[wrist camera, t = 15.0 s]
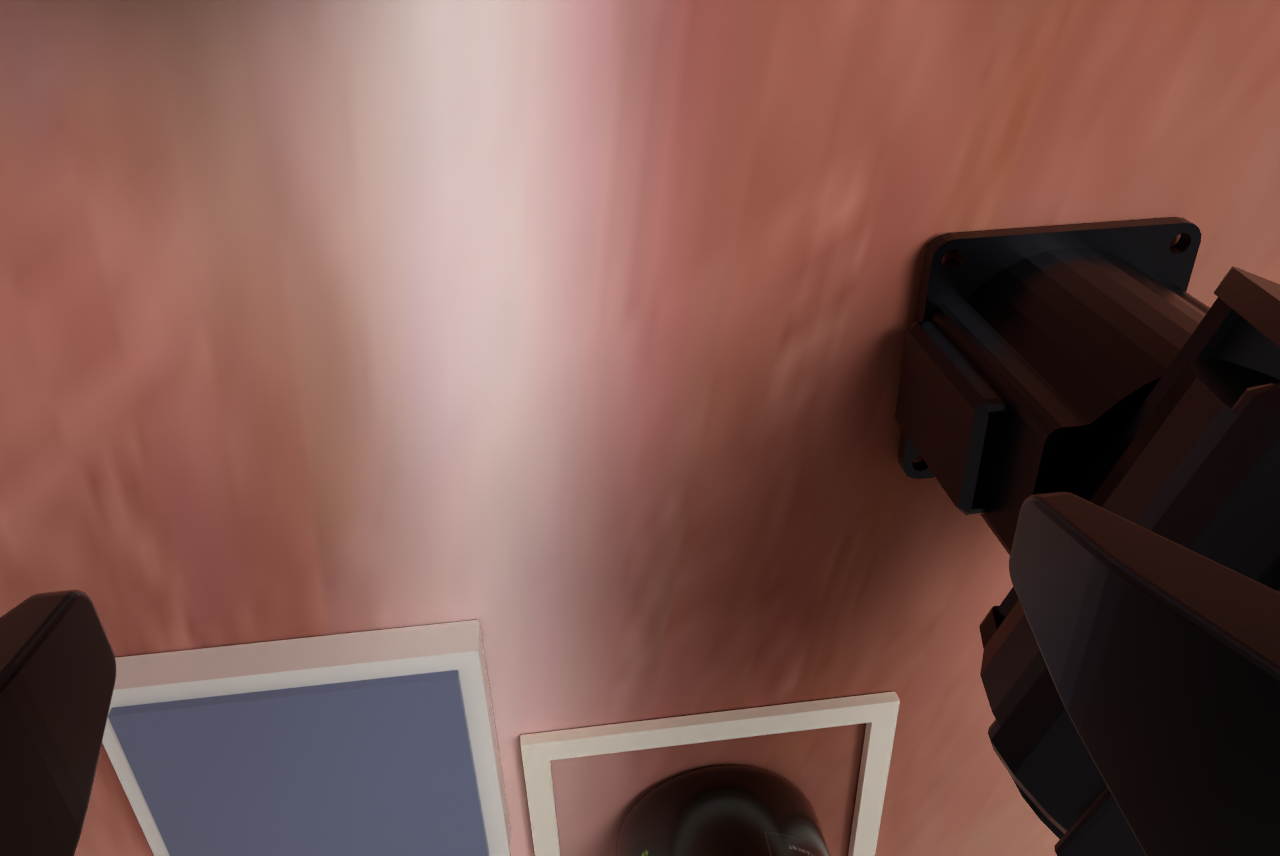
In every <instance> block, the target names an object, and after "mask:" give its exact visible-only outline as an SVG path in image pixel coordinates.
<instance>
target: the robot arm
mask: <svg viewBox="0 0 1280 856" xmlns="http://www.w3.org/2000/svg"><path fill="white" fill-rule="evenodd" d="M1178 234H1181V237H1180V239H1179V241H1178V242H1177V243H1176V244H1175V245H1174V246H1172V247H1170V243H1171V241H1172V239H1173V238H1174V237H1175V236H1177V235H1178ZM1200 242H1201V232H1200V230H1199V228H1198V227H1197V226H1196V225H1194V224H1193V223H1191V222H1189V221H1188V220H1186V219H1184V218H1179V217H1168V218H1154V219H1140V220H1126V221H1112V222H1098V223H1083V224H1069V225H1055V226H1041V227H1027V228H1013V229H999V230H984V231H970V232H956V233H947V234H943V235H940V236H938V237H937V238H935V239H934V240H933V241H932V242H931V243H930V245H929V246H928V247H927V250H926V253H925V257H924V264H923V272H922V279H921V286H920V294H919V301H918V309H917V316H916V321H915V322H914V323H913V324H912V325H911V326H910V327H909V329H908V330H907V331H906V335H905V343H904V351H903V358H902V366H901V374H900V382H899V389H898V397H897V405H896V412H895V418H896V420H897V422H898V423H899V425H900V426H901V435H900V442H899V449H898V462H899V464H900V466H901V467H902V469H903V470H904V472H905V473H906V475H907V476H909V477H911V478H916V479H922V478H933V477H936V478H937V480H938V481H939V483H940V484H941V486H942V487H943V488H944V490H945V491H946V493H947V494H948V496H949V497H950V499H951V500H952V501H953V503H954V504H955V506H956V507H957V508H958V509H960V510H961V511H962V512H963V513H964V514H965V515H975V514H981V516H982V517H983V519H984V520H985V521H986V523H987V524H988V526H989V527H990V528H991V530H992V531H993V533H994V534H995V535H996V537H997V538H998V540H999V541H1000V542H1001V544H1002V545H1003V546H1004V548H1005V549H1006V551H1007V552H1008V553H1009V555H1010V559H1009V571H1010V577H1011V581H1012V584H1013V588H1012V589H1011V591H1010V592H1009V593H1008V595H1007V596H1006V598H1005V599H1004V601H1003V602H1002V603H1001V605H1000V606H994V607H992V609H991V610H990V611H989V613H988V614H987V616H986V617H985V619H984V620H983V621H982V623H981V624H980V632H981V637H982V643H983V648H984V652H983V660H982V667H981V674H980V675H981V678H982V681H983V684H984V687H985V691H986V694H987V697H988V700H989V703H990V706H991V709H992V712H993V714H994V716H995V718H996V720H995V721H994V722H993V723H992V725H991V726H990V727H989V730H988V735H989V738H990V740H991V743H992V746H993V749H994V751H995V752H996V754H997V755H998V757H999V758H1000V760H1001V761H1002V763H1003V764H1004V766H1005V767H1006V769H1007V770H1008V772H1009V773H1010V775H1011V777H1012V779H1013V780H1014V782H1015V784H1016V786H1017V788H1018V789H1019V791H1020V793H1021V795H1022V797H1023V798H1024V799H1025V801H1026V802H1027V803H1028V804H1029V806H1030V807H1031V808H1032V809H1033V811H1034V812H1035V813H1036V815H1037V816H1038V817H1039V818H1040V820H1041V821H1042V822H1043V823H1044V824H1045V825H1046V826H1047V827H1048V828H1049V829H1050V830H1051V831H1052V832H1053V833H1054V834H1055V835H1056V836H1057V837H1058V838H1059V839H1060V840H1059V841H1058V843H1057V844H1056V845H1055V852H1056V854H1057V856H1280V285H1279V284H1277V283H1274V282H1272V281H1269V280H1267V279H1264V278H1261V277H1259V276H1256V275H1254V274H1251V273H1249V272H1246V271H1244V270H1241V269H1239V268H1236V267H1232V268H1231V269H1230V270H1229V272H1228V273H1227V275H1226V276H1225V278H1224V279H1223V280H1222V282H1221V283H1220V285H1219V286H1218V288H1217V289H1216V290H1215V292H1214V294H1215V295H1217V296H1218V298H1217V300H1216V301H1215V302H1214V304H1213V305H1212V307H1211V308H1209V307H1208V306H1206V305H1205V304H1203V303H1201V302H1200V301H1198V300H1197V299H1195V298H1194V297H1192V296H1191V295H1189V294H1188V293H1186V290H1187V287H1188V283H1189V280H1190V277H1191V273H1192V270H1193V266H1194V263H1195V259H1196V256H1197V252H1198V249H1199V245H1200ZM954 249H955V250H956V255H955V258H954V259H953V260H952V261H951V262H950V263H947V264H942V259H943V256H944V255H945V254H946V253H947V252H948V251H951V250H954ZM919 455H921V457H922V458H923V459H922V460H921V461H919V462H915V463H914V462H913V461H914V459H915V458H916V457H917V456H919ZM115 681H116V660H115V656H114V653H113V650H112V647H111V645H110V643H109V640H108V638H107V636H106V633H105V631H104V629H103V626H102V624H101V622H100V619H99V617H98V614H97V612H96V610H95V607H94V605H93V603H92V601H91V599H90V598H89V597H88V596H87V595H86V593H84V592H82V591H79V590H69V591H59V592H49V593H40V594H36V595H33V596H31V597H29V598H28V599H26V600H25V601H23V602H22V603H20V604H19V605H18V606H16V607H15V608H13V609H12V610H11V611H9V612H8V613H6V614H5V615H3V616H2V617H1V618H0V856H74V853H75V850H76V847H77V844H78V841H79V838H80V835H81V831H82V827H83V823H84V819H85V815H86V812H87V808H88V803H89V799H90V794H91V790H92V785H93V781H94V776H95V772H96V767H97V763H98V758H99V754H100V749H101V745H102V740H103V735H104V731H105V726H106V722H107V717H108V713H109V708H110V704H111V699H112V695H113V690H114V686H115Z"/></svg>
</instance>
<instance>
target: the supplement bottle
mask: <svg viewBox="0 0 1280 856" xmlns="http://www.w3.org/2000/svg"><path fill="white" fill-rule="evenodd" d="M616 856H830V855H829V852H828V848H827V845H826V842H825V839H824V837H823V834H822V831H821V828H820V825H819V822H818V819H817V816H816V814H815V811H814V809H813V807H812V805H811V803H810V802H809V800H808V799H807V798H806V796H805V795H804V794H803V793H802V792H801V791H800V790H799V789H798V788H797V787H796V786H795V785H793V784H792V783H791V782H789V781H788V780H786V779H785V778H783V777H781V776H779V775H777V774H775V773H772V772H769V771H766V770H763V769H759V768H754V767H748V766H735V765H727V766H714V767H707V768H702V769H698V770H694V771H690V772H687V773H684V774H682V775H679V776H676V777H674V778H672V779H670V780H668V781H666V782H664V783H662V784H661V785H659V786H657V787H656V788H654V789H653V790H652V791H650V792H649V793H648V794H646V795H645V796H644V797H643V798H642V799H641V800H640V801H639V802H638V803H637V804H636V805H635V806H634V807H633V808H632V810H631V811H630V813H629V814H628V815H627V817H626V819H625V820H624V822H623V824H622V826H621V829H620V831H619V834H618V839H617V843H616Z"/></svg>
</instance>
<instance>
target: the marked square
mask: <svg viewBox="0 0 1280 856" xmlns="http://www.w3.org/2000/svg"><path fill="white" fill-rule="evenodd" d="M899 704H900V700H899V698H898V696H897V694H896V692H895V691H894V692H885V693H877V694H868V695H859V696H851V697H842V698H834V699H825V700H816V701H808V702H799V703H791V704H782V705H774V706H765V707H756V708H748V709H739V710H731V711H722V712H713V713H705V714H696V715H688V716H679V717H670V718H662V719H653V720H645V721H636V722H628V723H619V724H610V725H602V726H593V727H585V728H576V729H567V730H559V731H550V732H542V733H533V734H524V735H520V744H521V753H522V760H523V768H524V776H525V783H526V791H527V799H528V806H529V814H530V822H531V829H532V837H533V844H534V852H535V856H561V855H560V846H559V837H558V828H557V819H556V809H555V800H554V791H553V782H552V773H551V764H550V761H551V760H559V759H567V758H576V757H584V756H593V755H601V754H609V753H618V752H626V751H635V750H643V749H651V748H660V747H668V746H676V745H685V744H693V743H702V742H710V741H718V740H727V739H735V738H744V737H752V736H760V735H769V734H777V733H785V732H794V731H802V730H811V729H819V728H827V727H836V726H844V725H853V724H861V723H866V730H865V737H864V744H863V751H862V758H861V766H860V773H859V780H858V787H857V795H856V802H855V809H854V816H853V823H852V831H851V838H850V845H849V852H848V856H875V852H876V846H877V840H878V834H879V827H880V821H881V815H882V809H883V803H884V797H885V790H886V784H887V778H888V772H889V766H890V759H891V753H892V747H893V741H894V735H895V729H896V722H897V716H898V710H899Z"/></svg>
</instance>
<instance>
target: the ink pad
mask: <svg viewBox="0 0 1280 856" xmlns="http://www.w3.org/2000/svg"><path fill="white" fill-rule="evenodd" d="M115 660H116V681H115V686H114V690H113V695H112V699H111V704H110V708H109V713H108V717H107V722H106V726H105V731H104V735H103V740H102V743H103V745H104V747H105V749H106V752H107V754H108V756H109V758H110V760H111V763H112V765H113V767H114V769H115V771H116V773H117V776H118V778H119V780H120V782H121V784H122V786H123V789H124V791H125V793H126V795H127V797H128V800H129V802H130V804H131V806H132V808H133V810H134V813H135V815H136V817H137V819H138V821H139V824H140V826H141V828H142V830H143V832H144V834H145V837H146V839H147V841H148V843H149V845H150V847H151V850H152V852H153V854H154V856H511V836H510V824H509V817H508V810H507V803H506V797H505V790H504V783H503V777H502V770H501V763H500V756H499V750H498V743H497V736H496V730H495V723H494V716H493V709H492V703H491V696H490V689H489V683H488V676H487V669H486V662H485V656H484V649H483V642H482V636H481V629H480V622H479V620H469V621H460V622H450V623H441V624H431V625H422V626H412V627H403V628H393V629H383V630H374V631H364V632H355V633H345V634H336V635H326V636H317V637H307V638H298V639H288V640H279V641H269V642H259V643H250V644H240V645H231V646H221V647H212V648H202V649H193V650H183V651H174V652H164V653H154V654H145V655H135V656H126V657H116V658H115Z"/></svg>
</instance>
